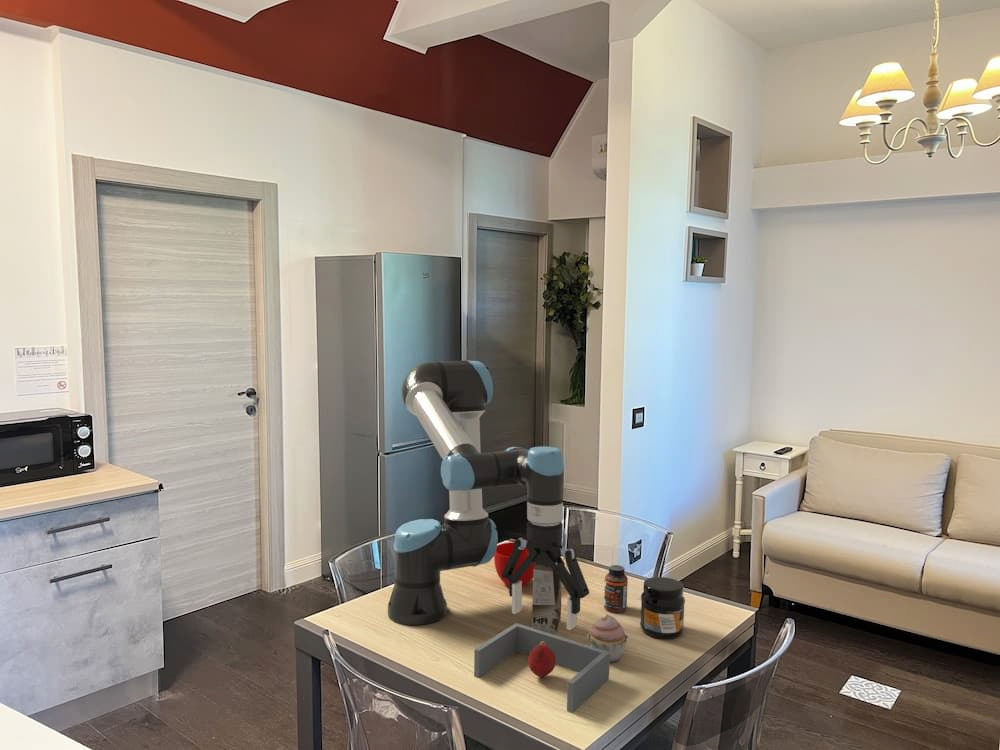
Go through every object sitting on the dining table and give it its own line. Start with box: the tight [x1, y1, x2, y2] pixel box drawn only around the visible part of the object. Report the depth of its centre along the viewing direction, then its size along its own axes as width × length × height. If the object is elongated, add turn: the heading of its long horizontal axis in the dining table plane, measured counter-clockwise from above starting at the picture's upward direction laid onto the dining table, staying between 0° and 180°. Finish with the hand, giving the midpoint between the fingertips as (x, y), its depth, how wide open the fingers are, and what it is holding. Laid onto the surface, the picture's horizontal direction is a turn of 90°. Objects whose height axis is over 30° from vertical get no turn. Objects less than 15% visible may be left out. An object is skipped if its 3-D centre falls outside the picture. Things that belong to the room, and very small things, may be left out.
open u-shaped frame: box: [473, 622, 610, 714], centre depth 156 cm, size 24×16×6 cm, turn 55°
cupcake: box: [586, 613, 629, 663], centre depth 166 cm, size 9×9×10 cm
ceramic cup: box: [493, 541, 536, 588], centre depth 209 cm, size 13×17×10 cm
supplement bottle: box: [603, 564, 629, 614], centre depth 192 cm, size 6×6×11 cm
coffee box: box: [531, 562, 563, 636], centre depth 181 cm, size 9×6×16 cm
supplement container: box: [639, 576, 686, 640], centre depth 180 cm, size 10×10×12 cm
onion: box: [527, 641, 556, 679], centre depth 156 cm, size 6×6×8 cm
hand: (543, 619), depth 155 cm, fingers open, 13 cm apart
